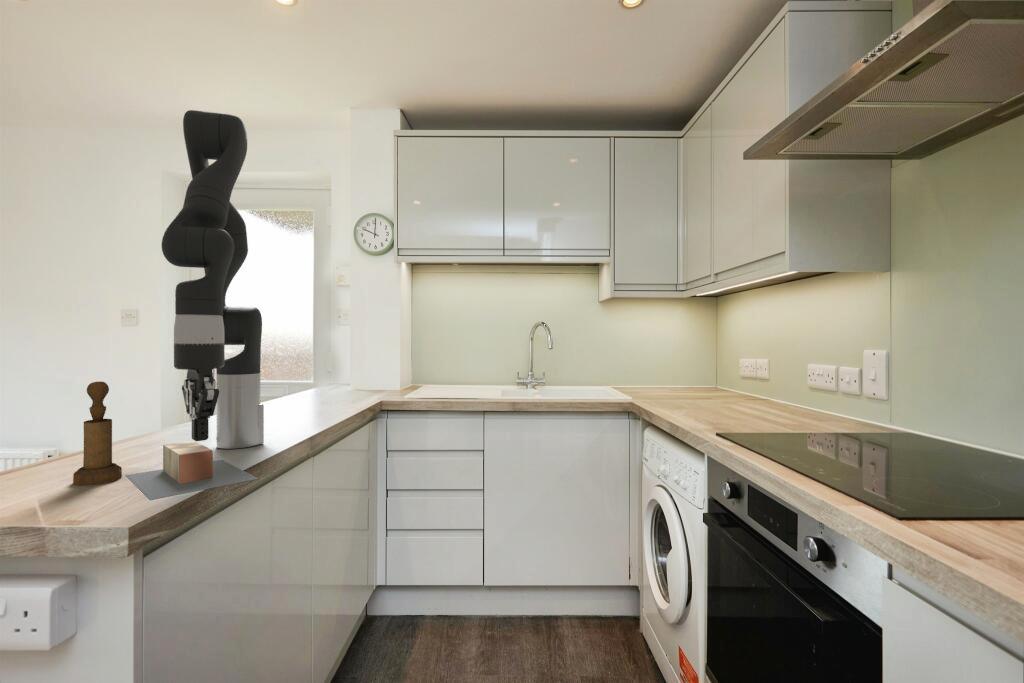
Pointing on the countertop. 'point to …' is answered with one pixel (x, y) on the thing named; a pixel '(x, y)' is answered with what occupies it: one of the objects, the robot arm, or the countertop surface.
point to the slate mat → (165, 485)
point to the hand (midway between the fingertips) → (200, 439)
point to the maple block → (187, 461)
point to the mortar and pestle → (97, 443)
